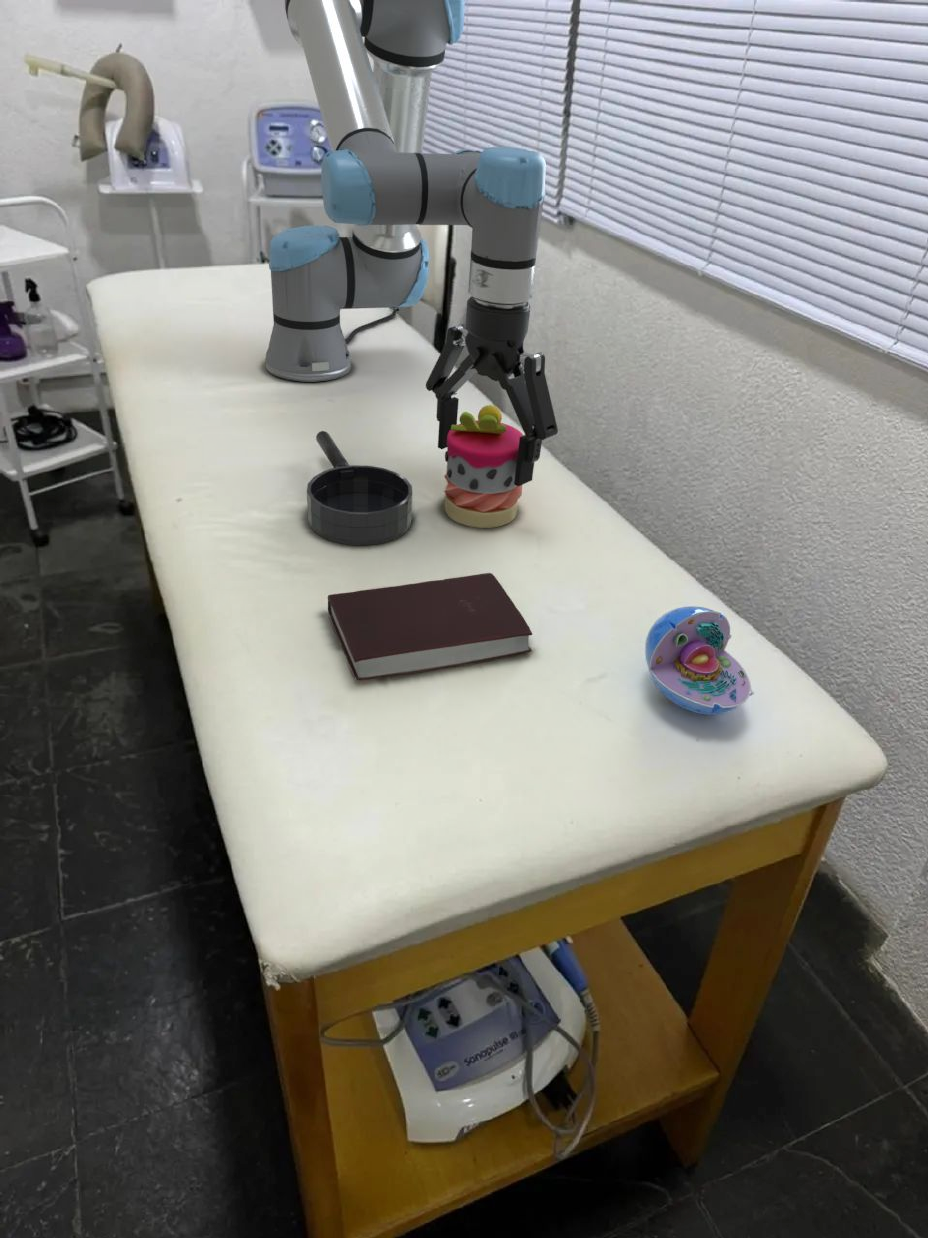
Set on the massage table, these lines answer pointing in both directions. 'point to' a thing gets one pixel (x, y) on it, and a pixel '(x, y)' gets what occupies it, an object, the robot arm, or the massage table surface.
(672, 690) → the cell model
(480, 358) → the robot arm
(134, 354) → the massage table surface
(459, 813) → the massage table surface
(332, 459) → the pan handle
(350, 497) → the pan
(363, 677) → the book
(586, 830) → the massage table surface
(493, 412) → the cake
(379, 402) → the massage table surface
